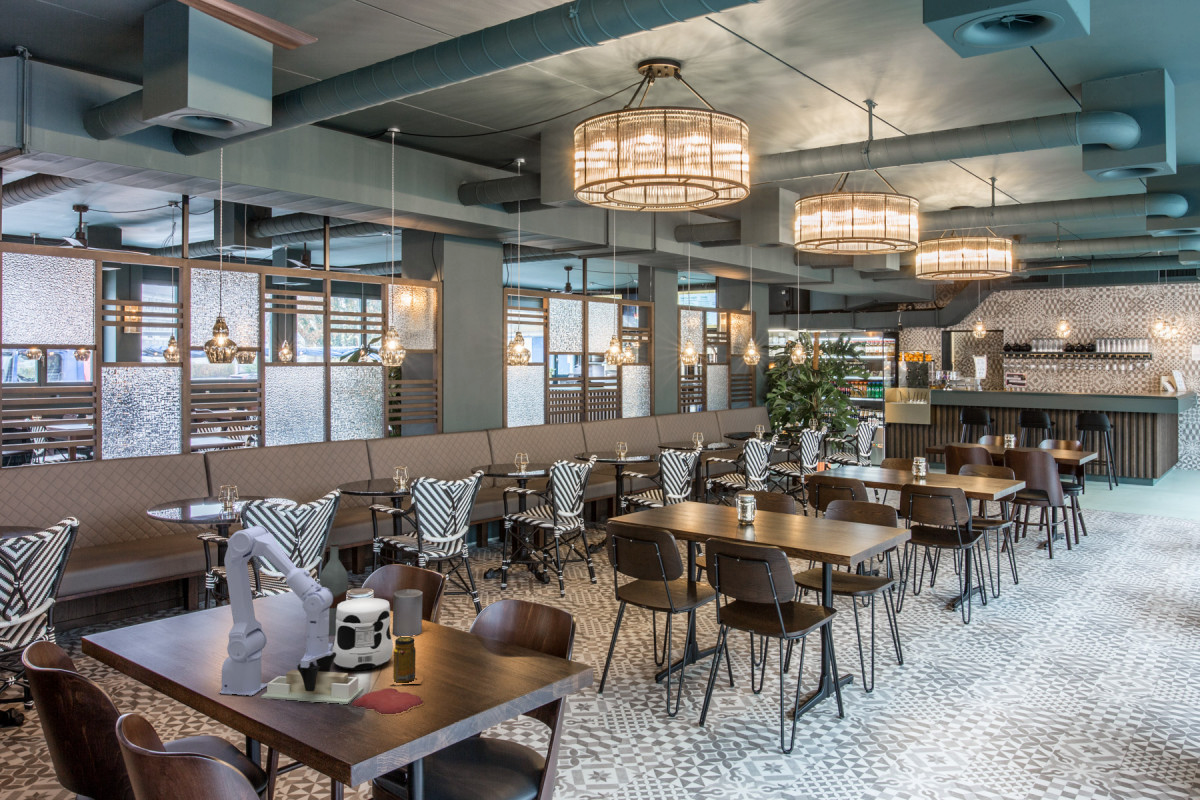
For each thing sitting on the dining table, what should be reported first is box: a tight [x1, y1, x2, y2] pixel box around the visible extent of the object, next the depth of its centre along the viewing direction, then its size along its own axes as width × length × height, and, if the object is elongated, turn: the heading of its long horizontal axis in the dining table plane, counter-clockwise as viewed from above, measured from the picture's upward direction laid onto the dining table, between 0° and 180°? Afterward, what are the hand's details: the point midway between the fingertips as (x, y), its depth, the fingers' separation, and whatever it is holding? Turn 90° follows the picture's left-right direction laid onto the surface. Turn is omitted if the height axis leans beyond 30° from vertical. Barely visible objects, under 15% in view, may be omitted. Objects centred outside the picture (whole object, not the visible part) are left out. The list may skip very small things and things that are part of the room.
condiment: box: [392, 636, 417, 683], centre depth 225 cm, size 7×8×12 cm
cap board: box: [260, 686, 365, 705], centre depth 214 cm, size 24×10×1 cm, turn 83°
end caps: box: [266, 675, 359, 699], centre depth 214 cm, size 23×6×4 cm, turn 83°
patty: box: [351, 687, 424, 714], centre depth 209 cm, size 18×14×2 cm
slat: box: [285, 669, 349, 695], centre depth 214 cm, size 16×3×5 cm, turn 83°
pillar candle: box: [392, 588, 424, 637], centre depth 270 cm, size 10×10×15 cm
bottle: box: [318, 542, 349, 636], centre depth 270 cm, size 9×9×30 cm
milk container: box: [332, 597, 394, 671], centre depth 238 cm, size 17×17×18 cm
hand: (316, 685), depth 214 cm, fingers open, 7 cm apart
